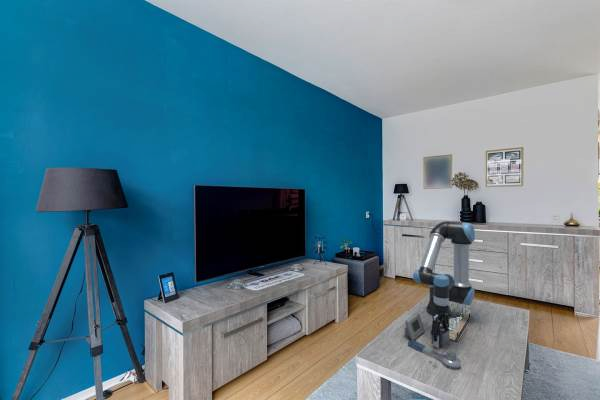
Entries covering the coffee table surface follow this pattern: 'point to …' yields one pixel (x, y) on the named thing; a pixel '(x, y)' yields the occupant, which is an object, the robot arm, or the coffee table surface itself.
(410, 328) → the digital clock
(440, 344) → the socket
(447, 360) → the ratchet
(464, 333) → the coffee table surface
